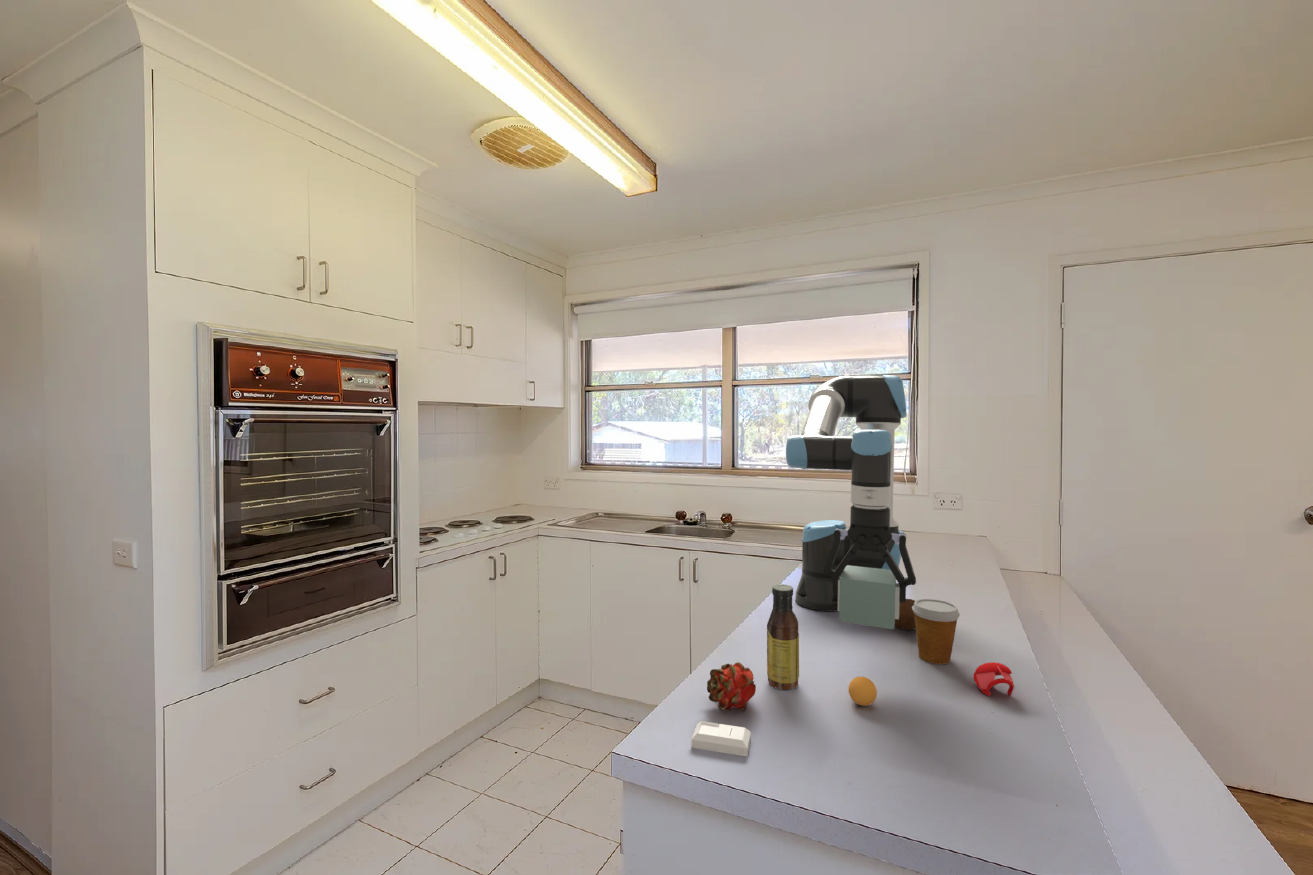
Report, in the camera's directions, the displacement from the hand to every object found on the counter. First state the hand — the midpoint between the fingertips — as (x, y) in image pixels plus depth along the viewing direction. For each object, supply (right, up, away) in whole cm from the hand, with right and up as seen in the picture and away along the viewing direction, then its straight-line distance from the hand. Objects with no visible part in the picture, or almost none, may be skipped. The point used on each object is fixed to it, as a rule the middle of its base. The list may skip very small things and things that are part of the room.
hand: (868, 612), depth 118 cm
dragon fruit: (-29, -14, -11) cm, 34 cm away
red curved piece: (+22, -14, -6) cm, 27 cm away
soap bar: (-33, -15, -23) cm, 43 cm away
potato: (+19, -12, +26) cm, 34 cm away
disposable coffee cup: (+18, -13, +9) cm, 24 cm away
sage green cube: (0, -1, 0) cm, 1 cm away
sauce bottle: (-18, -14, -3) cm, 23 cm away
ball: (-5, -11, -11) cm, 16 cm away
